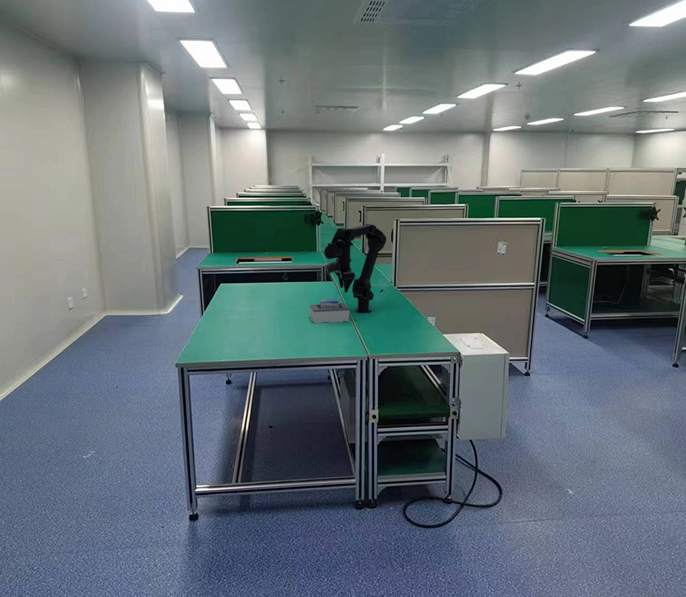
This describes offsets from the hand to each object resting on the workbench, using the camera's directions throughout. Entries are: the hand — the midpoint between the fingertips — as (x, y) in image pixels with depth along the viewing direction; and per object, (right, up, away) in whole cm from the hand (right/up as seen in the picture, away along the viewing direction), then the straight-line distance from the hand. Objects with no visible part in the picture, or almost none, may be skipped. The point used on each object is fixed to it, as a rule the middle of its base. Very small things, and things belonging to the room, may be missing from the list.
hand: (343, 290), depth 220 cm
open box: (-7, -13, 0) cm, 15 cm away
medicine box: (-7, -13, -1) cm, 15 cm away
